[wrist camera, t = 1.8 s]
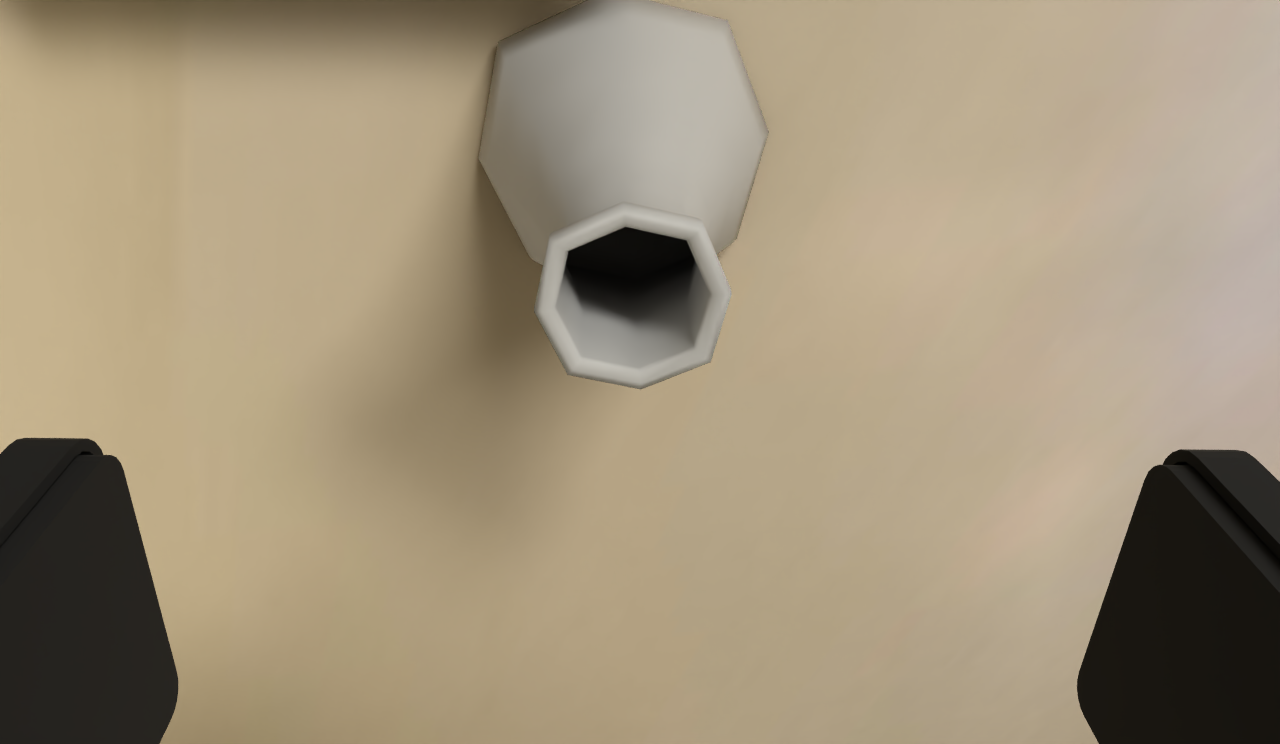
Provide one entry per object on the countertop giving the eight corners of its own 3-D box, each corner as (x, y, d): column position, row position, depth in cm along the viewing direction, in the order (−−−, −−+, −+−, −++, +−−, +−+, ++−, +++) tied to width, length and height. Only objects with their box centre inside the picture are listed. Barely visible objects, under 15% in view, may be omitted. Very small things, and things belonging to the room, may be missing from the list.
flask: (770, 263, 26) (853, 471, 18) (501, 288, 26) (448, 506, 18) (763, -26, 23) (862, 50, 14) (454, 3, 23) (361, 98, 14)
